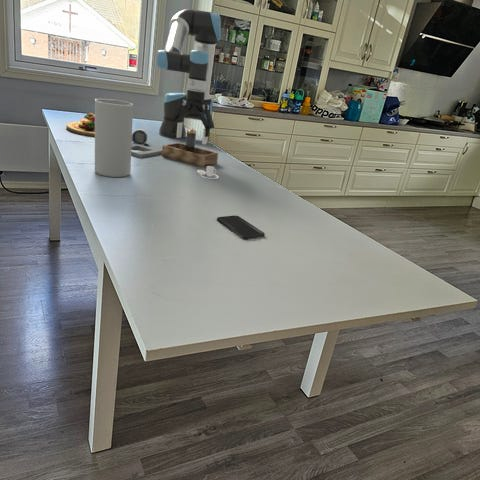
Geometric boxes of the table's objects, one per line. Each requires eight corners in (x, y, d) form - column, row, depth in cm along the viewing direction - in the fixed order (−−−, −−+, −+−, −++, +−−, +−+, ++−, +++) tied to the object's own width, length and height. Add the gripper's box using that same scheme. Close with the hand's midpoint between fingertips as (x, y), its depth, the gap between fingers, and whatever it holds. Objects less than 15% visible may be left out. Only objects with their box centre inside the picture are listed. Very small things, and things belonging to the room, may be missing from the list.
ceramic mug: (147, 142, 205) (147, 128, 202) (147, 146, 198) (147, 130, 195) (126, 141, 202) (126, 125, 199) (125, 144, 195) (125, 128, 192)
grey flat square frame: (136, 146, 193) (136, 143, 192) (162, 153, 187) (162, 150, 187) (114, 150, 181) (114, 146, 180) (140, 158, 175) (140, 154, 174)
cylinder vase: (137, 176, 150) (140, 105, 140) (106, 179, 141) (107, 104, 131) (118, 167, 157) (120, 99, 147) (88, 169, 148) (87, 98, 138)
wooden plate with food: (64, 124, 220) (64, 108, 216) (124, 128, 234) (125, 113, 230) (68, 136, 194) (68, 119, 191) (136, 140, 208) (137, 124, 205)
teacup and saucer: (193, 174, 165) (194, 164, 163) (208, 172, 171) (209, 163, 169) (208, 180, 160) (209, 170, 158) (222, 178, 165) (224, 168, 164)
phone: (237, 215, 125) (266, 234, 114) (236, 218, 126) (265, 237, 115) (215, 217, 121) (243, 237, 110) (214, 220, 121) (243, 241, 110)
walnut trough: (161, 156, 184) (162, 145, 182) (177, 153, 194) (178, 142, 192) (202, 167, 175) (204, 156, 173) (217, 163, 185) (218, 152, 183)
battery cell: (188, 156, 187) (190, 127, 182) (195, 158, 185) (198, 129, 180) (182, 157, 183) (185, 128, 178) (190, 159, 182) (193, 130, 177)
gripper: (167, 85, 174) (163, 135, 183) (216, 95, 165) (210, 147, 173) (177, 85, 180) (173, 134, 189) (225, 95, 171) (219, 145, 179)
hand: (191, 140), depth 181 cm, fingers open, 13 cm apart
